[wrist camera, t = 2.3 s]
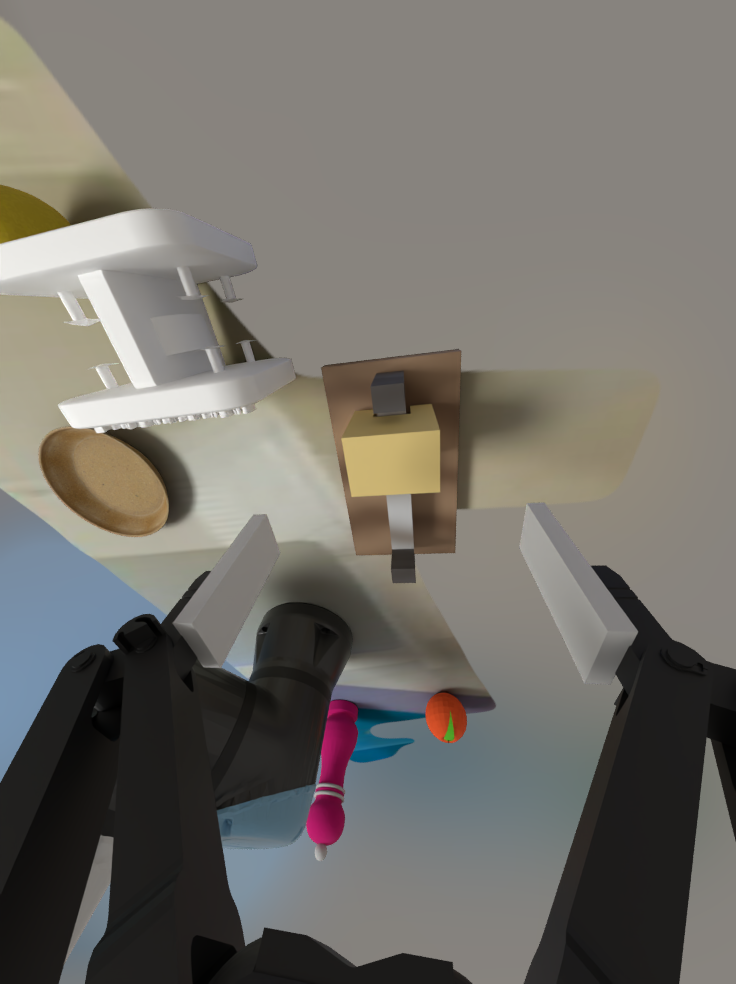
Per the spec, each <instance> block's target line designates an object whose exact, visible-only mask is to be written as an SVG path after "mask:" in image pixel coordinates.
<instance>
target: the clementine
mask: <svg viewBox="0 0 736 984" xmlns="http://www.w3.org/2000/svg"><path fill="white" fill-rule="evenodd" d="M426 721H427V725H428V727H429V729H430V731H431V732H432V733H433V735H434V736H435V737H436V738H438V739H439V740H441V741H442V742H446V743H453V742H456V741H458V740H459V739H460V738H461V737H462V736H463V734H464V732H465V730H466V725H467V716H466V712H465V709H464V708H463V706H462V704H461V702H460V701H459V700H458V699H457V698H456V697H454V696H453V695H451V694H449V693H438V694H436V695H434V696H433V697H432V698H431V699H430V700H429V702H428V704H427V707H426Z"/></svg>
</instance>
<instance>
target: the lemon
mask: <svg viewBox="0 0 736 984" xmlns="http://www.w3.org/2000/svg"><path fill="white" fill-rule="evenodd" d="M67 226H71V224H70V223H69V222H68V221H67V220H66V219H65V218H64V217H63V216H62V215H61V214H60V213H59V212H58V211H56V210H55V209H54V208H52V207H51V206H49V205H48V204H46V203H45V202H43V201H41V200H40V199H38V198H36V197H34V196H32V195H30V194H28V193H25V192H23V191H20V190H17V189H14V188H11V187H8V186H4V185H0V244H1V243H5V242H9V241H13V240H17V239H21V238H24V237H28V236H32V235H36V234H40V233H44V232H48V231H51V230H55V229H59V228H63V227H67Z"/></svg>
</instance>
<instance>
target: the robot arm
mask: <svg viewBox="0 0 736 984" xmlns="http://www.w3.org/2000/svg"><path fill="white" fill-rule="evenodd" d="M519 548H520V550H521V553H522V554H523V556H524V558H525V561H526V563H527V565H528V567H529V569H530V571H531V573H532V575H533V577H534V579H535V582H536V584H537V586H538V588H539V590H540V592H541V594H542V596H543V598H544V600H545V602H546V604H547V607H548V608H549V610H550V613H551V615H552V617H553V619H554V621H555V623H556V625H557V627H558V629H559V631H560V633H561V635H562V637H563V640H564V642H565V644H566V646H567V648H568V650H569V652H570V654H571V656H572V658H573V660H574V663H575V665H576V667H577V669H578V671H579V673H580V675H581V677H582V679H583V681H584V683H585V684H608V685H610V684H611V682H612V680H613V679H614V677H615V675H617V677H618V679H619V681H620V682H621V684H622V686H623V689H622V691H621V693H620V694H619V696H618V698H617V700H616V702H615V703H614V705H616V709H615V712H614V715H613V718H612V721H611V724H610V727H609V731H608V734H607V737H606V740H605V743H604V746H603V749H602V752H601V756H600V759H599V762H598V765H597V768H596V771H595V774H594V777H593V780H592V783H591V787H590V790H589V793H588V796H587V799H586V803H585V805H584V809H583V812H582V815H581V818H580V821H579V824H578V827H577V830H576V833H575V836H574V840H573V843H572V846H571V849H570V852H569V855H568V858H567V862H566V865H565V868H564V871H563V874H562V877H561V880H560V883H559V886H558V889H557V892H556V896H555V899H554V902H553V905H552V908H551V911H550V914H549V917H548V920H547V924H546V927H545V930H544V933H543V936H542V939H541V942H540V944H539V947H538V949H537V951H536V953H535V955H534V958H533V960H532V962H531V965H530V967H529V970H528V973H527V976H526V979H525V982H524V984H679V981H680V971H681V962H682V953H683V943H684V935H685V926H686V916H687V908H688V899H689V890H690V881H691V872H692V863H693V853H694V845H695V836H696V827H697V818H698V809H699V800H700V791H701V782H702V773H703V764H704V755H705V746H706V737H707V738H710V739H711V742H712V746H713V750H714V754H715V758H716V763H717V767H718V770H719V775H720V779H721V783H722V787H723V791H724V795H725V799H726V804H727V808H728V811H729V816H730V820H731V824H732V828H733V832H734V836H735V840H736V669H732V668H729V667H725V666H721V665H718V664H714V663H711V662H708V661H706V660H705V659H704V658H703V657H702V656H701V655H699V654H698V653H697V652H696V651H695V650H693V649H691V648H689V647H688V646H686V645H684V644H682V643H680V642H677V641H674V640H672V639H671V638H670V637H669V635H668V634H667V633H666V632H665V630H664V629H663V628H662V627H661V626H660V624H659V623H658V622H657V621H656V619H655V618H654V617H653V616H652V614H651V613H650V612H649V611H648V609H647V608H646V607H645V606H644V605H643V603H642V602H641V601H640V600H638V597H637V596H636V595H635V593H634V592H633V591H632V590H630V587H629V586H628V585H627V584H626V583H625V581H624V580H623V579H622V577H621V576H620V575H618V574H617V573H616V572H614V571H613V570H611V569H610V568H608V567H607V566H590V565H589V563H588V562H587V561H586V559H585V558H584V556H583V555H582V554H581V552H580V551H579V549H578V548H577V547H576V545H575V544H574V543H573V541H572V540H571V539H570V537H569V536H568V534H567V533H566V532H565V530H564V529H563V527H562V526H561V525H560V523H559V522H558V521H557V519H556V518H555V517H554V515H553V514H552V512H551V511H550V510H549V508H548V507H547V505H546V504H545V503H527V506H526V511H525V518H524V523H523V529H522V535H521V541H520V547H519ZM279 555H280V551H279V548H278V545H277V542H276V539H275V536H274V534H273V531H272V528H271V525H270V522H269V520H268V517H267V514H262V515H253V516H252V517H251V519H250V520H249V521H248V523H247V524H246V525H245V527H244V528H243V529H242V531H241V532H240V533H239V535H238V536H237V538H236V539H235V540H234V542H233V543H232V544H231V546H230V547H229V548H228V550H227V551H226V552H225V554H224V555H223V556H222V558H221V559H220V560H219V562H218V563H217V564H216V566H215V567H214V568H213V570H212V571H206V572H204V573H203V574H202V575H201V576H199V577H198V578H197V579H196V580H195V581H194V582H193V583H192V585H191V586H190V587H189V589H188V591H186V592H185V594H184V595H183V596H182V599H180V600H179V601H178V603H177V604H176V605H175V606H174V608H173V609H172V610H171V612H170V613H169V614H168V615H167V617H166V618H165V619H164V621H163V622H162V623H161V624H160V623H159V621H158V620H157V619H156V617H155V616H154V615H151V614H143V615H140V616H138V617H135V618H133V619H132V620H130V621H128V622H127V623H126V624H124V625H123V626H122V627H121V628H120V629H119V630H118V631H117V633H116V634H115V636H114V638H113V642H114V643H115V644H116V645H117V646H118V647H119V648H120V649H117V650H114V651H110V652H109V651H108V649H106V647H105V646H104V645H100V644H97V645H93V646H90V647H88V648H86V649H83V650H82V651H80V652H79V653H77V654H76V655H74V657H72V658H71V659H70V660H69V661H68V662H67V663H66V664H65V666H64V667H63V669H62V670H61V672H60V674H59V675H58V677H57V679H56V681H55V683H54V685H53V687H52V688H51V690H50V692H49V694H48V696H47V698H46V700H45V701H44V703H43V705H42V707H41V709H40V711H39V713H38V714H37V716H36V718H35V720H34V722H33V724H32V725H31V727H30V729H29V731H28V733H27V735H26V736H25V739H24V740H23V742H22V744H21V746H20V748H19V749H18V751H17V753H16V755H15V757H14V759H13V760H12V762H11V764H10V766H9V768H8V770H7V772H6V773H5V775H4V777H3V779H2V781H1V783H0V984H59V980H60V976H61V973H62V969H63V966H64V964H65V962H66V960H67V958H68V957H69V955H70V953H71V951H72V949H73V948H74V946H75V944H76V942H77V941H78V939H79V937H80V935H81V933H82V932H83V930H84V928H85V926H86V925H87V923H88V921H89V919H90V918H91V916H92V914H93V912H94V911H95V909H96V907H97V905H98V903H99V902H100V900H101V898H102V896H103V895H104V893H105V891H106V889H107V887H108V886H109V884H110V882H111V884H110V899H109V915H108V923H107V928H106V931H105V934H104V936H103V937H102V938H101V940H100V941H99V943H98V944H97V945H96V947H95V948H94V950H93V952H92V955H91V958H90V961H89V964H88V969H87V975H86V980H85V984H472V983H471V982H470V981H469V980H468V979H467V978H466V977H464V976H463V975H461V974H460V973H459V972H457V971H456V970H454V969H453V962H449V961H443V960H438V959H432V958H426V957H422V956H416V955H411V954H405V953H402V954H398V955H395V956H392V957H388V958H385V959H382V960H379V961H375V962H372V963H368V964H365V965H362V966H358V967H356V966H355V965H353V964H352V963H351V962H349V961H348V960H347V959H345V958H344V957H342V956H341V955H340V954H338V953H337V952H336V951H334V950H333V949H332V948H330V947H329V946H327V945H325V944H323V943H321V942H319V941H317V940H315V939H313V938H311V937H309V936H307V935H302V934H296V933H291V932H286V931H280V930H275V929H270V928H264V931H263V935H262V938H259V939H257V940H255V941H254V942H252V943H250V944H248V945H247V946H245V942H244V936H243V930H242V925H241V920H240V916H239V913H238V910H237V907H236V905H235V902H234V900H233V898H232V896H231V893H230V890H229V885H228V880H227V875H226V867H225V861H224V854H223V848H230V849H269V848H279V847H284V846H288V845H290V844H292V843H294V842H295V841H296V840H297V839H298V838H299V837H300V836H301V834H302V833H303V830H304V828H305V826H306V822H307V818H308V814H309V810H310V806H311V802H312V798H313V794H314V791H315V789H316V784H315V782H316V778H317V772H318V766H319V761H320V755H321V750H322V744H323V739H324V733H325V728H326V722H327V717H328V711H329V705H330V700H331V695H332V691H333V689H334V687H335V685H336V683H337V681H338V679H339V677H340V675H341V673H342V671H343V669H344V667H345V665H346V663H347V661H348V659H349V657H350V653H351V647H352V640H353V638H352V633H351V631H350V629H349V627H348V626H347V624H346V623H345V622H344V621H343V620H342V619H341V618H339V617H338V616H337V615H335V614H333V613H332V612H330V611H328V610H326V609H323V608H320V607H317V606H314V605H309V604H302V603H290V604H283V605H280V606H277V607H274V608H273V609H271V610H269V611H268V612H267V613H266V614H265V616H264V617H263V620H262V622H261V624H260V626H259V628H258V631H257V636H256V645H255V655H254V664H253V671H252V674H251V677H250V679H249V681H246V680H245V679H243V678H241V677H239V676H237V675H235V674H233V673H231V672H229V671H226V670H225V669H223V668H221V667H222V665H223V663H224V661H225V659H226V657H227V655H228V653H229V651H230V649H231V647H232V646H233V644H234V642H235V640H236V638H237V636H238V634H239V632H240V630H241V628H242V626H243V624H244V622H245V620H246V618H247V617H248V615H249V613H250V611H251V609H252V607H253V605H254V603H255V601H256V599H257V597H258V595H259V593H260V591H261V589H262V587H263V586H264V584H265V582H266V580H267V578H268V576H269V574H270V572H271V570H272V568H273V566H274V564H275V562H276V560H277V558H278V557H279Z"/></svg>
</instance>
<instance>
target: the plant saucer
mask: <svg viewBox="0 0 736 984" xmlns="http://www.w3.org/2000/svg"><path fill="white" fill-rule="evenodd" d="M38 456H39V464H40V468H41V471H42V473H43V476H44V478H45V480H46V482H47V483H48V485H49V486H50V488H51V489H52V491H53V492H54V493H55V495H56V496H57V497H58V498H59V499H60V500H61V501H62V502H63V503H64V504H65V505H66V506H67V507H68V508H69V509H70V510H71V511H73V512H74V513H76V514H77V515H78V516H79V517H81V518H82V519H84V520H85V521H87V522H89V523H90V524H92V525H94V526H96V527H98V528H100V529H103V530H105V531H108V532H110V533H114V534H117V535H121V536H127V537H143V536H147V535H151V534H153V533H155V532H157V531H158V530H160V529H161V528H162V527H163V526H164V524H165V523H166V521H167V518H168V513H169V500H168V494H167V490H166V487H165V484H164V482H163V480H162V478H161V476H160V474H159V472H158V471H157V469H156V468H155V467H154V465H153V464H152V463H151V462H150V461H149V460H148V459H147V458H146V457H145V456H144V455H143V454H142V453H140V452H139V451H138V450H136V449H135V448H134V447H132V446H130V445H129V444H127V443H125V442H123V441H122V440H120V439H118V438H115V437H113V436H111V435H108V434H106V433H96V431H95V430H93V429H89V428H87V429H76V428H73V427H71V426H67V427H61V428H57V429H55V430H52V431H51V432H49V433H48V434H47V435H46V436H45V437H44V438H43V439H42V441H41V443H40V446H39V454H38Z"/></svg>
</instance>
